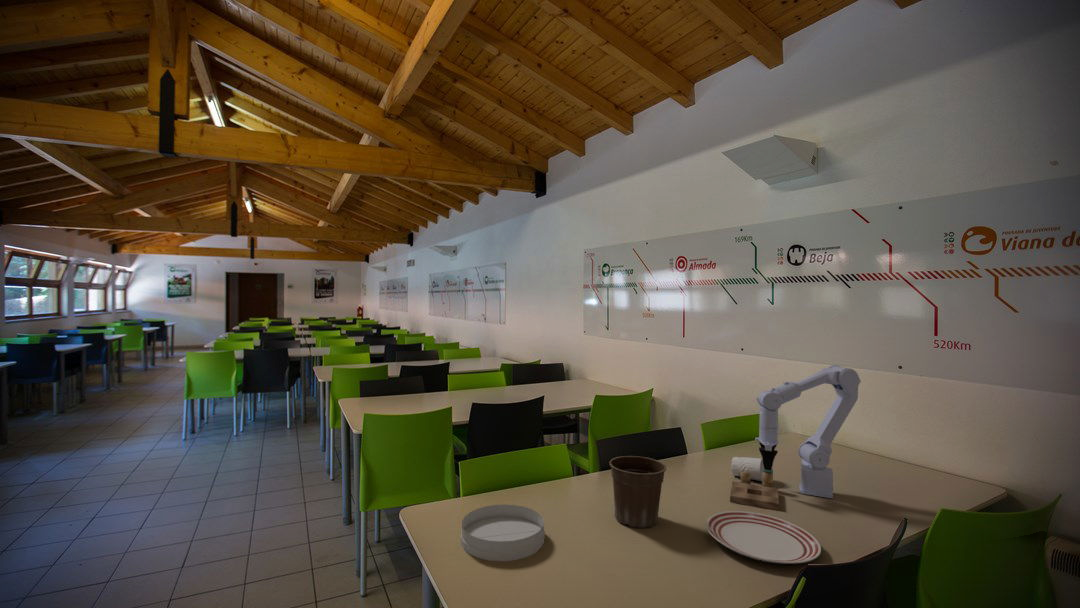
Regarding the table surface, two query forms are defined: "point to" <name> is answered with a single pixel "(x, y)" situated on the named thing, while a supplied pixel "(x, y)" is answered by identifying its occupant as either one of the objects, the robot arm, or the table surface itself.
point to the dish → (502, 532)
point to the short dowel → (745, 477)
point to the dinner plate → (763, 537)
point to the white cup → (748, 467)
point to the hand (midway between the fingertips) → (767, 466)
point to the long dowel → (767, 478)
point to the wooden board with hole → (754, 495)
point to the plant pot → (637, 489)
